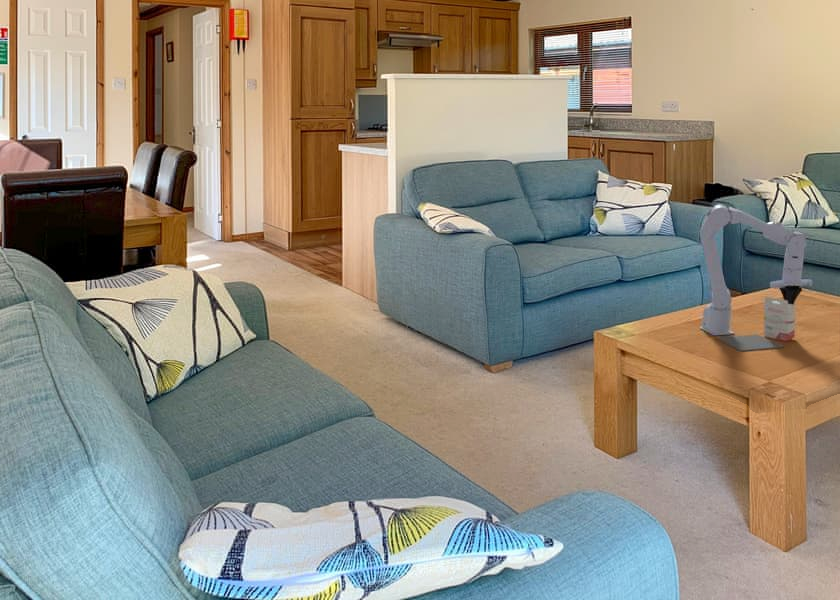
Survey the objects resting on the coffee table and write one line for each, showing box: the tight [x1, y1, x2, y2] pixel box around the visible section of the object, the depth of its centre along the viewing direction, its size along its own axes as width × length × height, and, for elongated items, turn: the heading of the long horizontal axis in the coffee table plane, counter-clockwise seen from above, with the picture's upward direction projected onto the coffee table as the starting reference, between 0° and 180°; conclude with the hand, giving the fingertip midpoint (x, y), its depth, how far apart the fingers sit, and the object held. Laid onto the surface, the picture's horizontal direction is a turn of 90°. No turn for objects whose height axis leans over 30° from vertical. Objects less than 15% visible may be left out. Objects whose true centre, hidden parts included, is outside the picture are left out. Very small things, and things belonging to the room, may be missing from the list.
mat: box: [716, 334, 785, 352], centre depth 255 cm, size 14×16×1 cm
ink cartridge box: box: [763, 295, 796, 342], centre depth 258 cm, size 9×5×15 cm, turn 37°
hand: (788, 307), depth 259 cm, fingers closed
